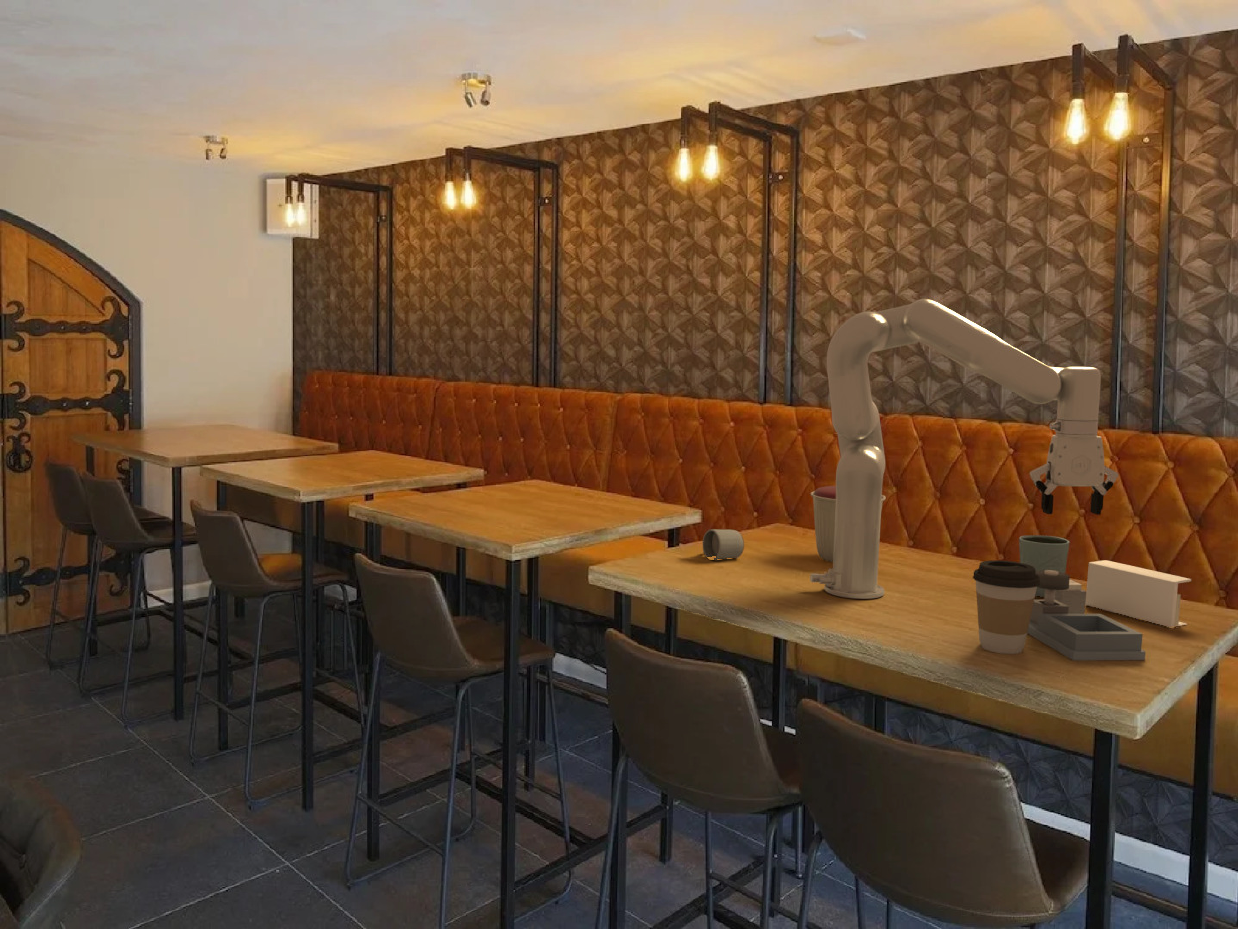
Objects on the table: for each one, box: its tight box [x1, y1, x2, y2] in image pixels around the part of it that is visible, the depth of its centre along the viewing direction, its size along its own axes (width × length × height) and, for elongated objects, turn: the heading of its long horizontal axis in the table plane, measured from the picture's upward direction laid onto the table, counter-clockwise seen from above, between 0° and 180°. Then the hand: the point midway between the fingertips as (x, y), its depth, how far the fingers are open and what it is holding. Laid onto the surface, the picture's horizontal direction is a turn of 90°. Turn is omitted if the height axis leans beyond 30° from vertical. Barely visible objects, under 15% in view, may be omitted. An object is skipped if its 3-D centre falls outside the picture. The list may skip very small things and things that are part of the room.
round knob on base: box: [1036, 570, 1071, 605], centre depth 191 cm, size 6×6×7 cm
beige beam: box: [1085, 559, 1192, 628], centre depth 205 cm, size 20×6×9 cm, turn 29°
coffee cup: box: [971, 559, 1041, 655], centre depth 179 cm, size 11×11×15 cm
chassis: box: [1027, 599, 1146, 661], centre depth 185 cm, size 13×22×6 cm, turn 5°
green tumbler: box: [1018, 534, 1070, 598], centre depth 221 cm, size 10×10×12 cm
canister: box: [810, 485, 886, 563], centre depth 249 cm, size 18×18×21 cm
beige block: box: [1055, 579, 1087, 614], centre depth 203 cm, size 5×6×7 cm
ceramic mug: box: [702, 528, 745, 561], centre depth 250 cm, size 11×8×8 cm
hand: (1071, 513), depth 204 cm, fingers open, 9 cm apart
